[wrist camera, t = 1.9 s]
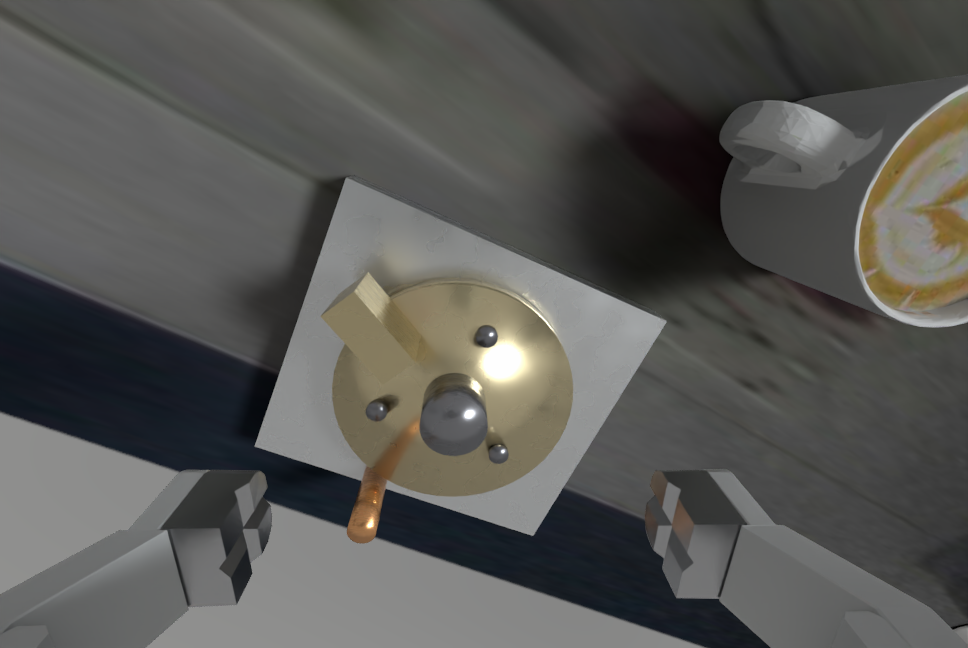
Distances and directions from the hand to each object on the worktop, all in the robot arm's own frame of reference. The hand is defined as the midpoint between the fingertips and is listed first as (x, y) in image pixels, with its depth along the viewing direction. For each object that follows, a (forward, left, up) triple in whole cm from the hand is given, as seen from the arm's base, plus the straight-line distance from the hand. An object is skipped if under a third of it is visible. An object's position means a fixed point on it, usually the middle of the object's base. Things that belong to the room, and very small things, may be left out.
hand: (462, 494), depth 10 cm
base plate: (+2, -7, -20) cm, 21 cm away
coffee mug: (+15, +13, -20) cm, 28 cm away
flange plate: (+2, -6, -17) cm, 18 cm away
